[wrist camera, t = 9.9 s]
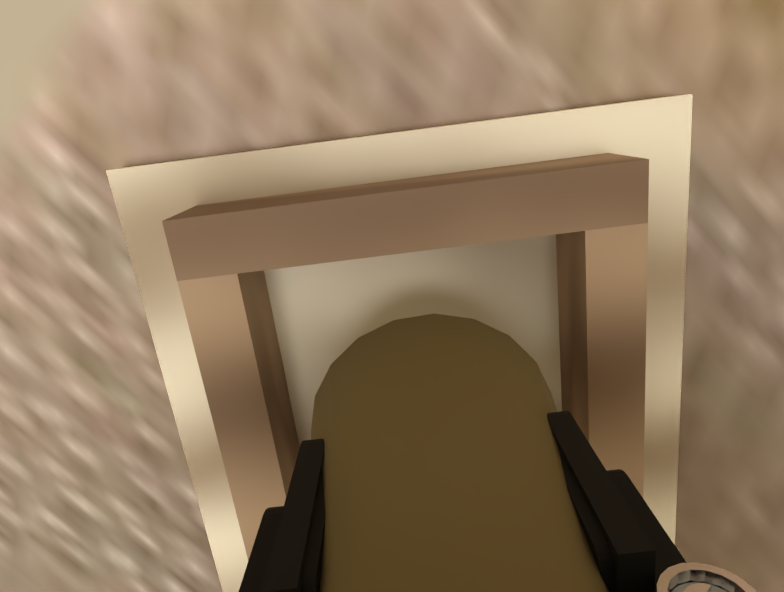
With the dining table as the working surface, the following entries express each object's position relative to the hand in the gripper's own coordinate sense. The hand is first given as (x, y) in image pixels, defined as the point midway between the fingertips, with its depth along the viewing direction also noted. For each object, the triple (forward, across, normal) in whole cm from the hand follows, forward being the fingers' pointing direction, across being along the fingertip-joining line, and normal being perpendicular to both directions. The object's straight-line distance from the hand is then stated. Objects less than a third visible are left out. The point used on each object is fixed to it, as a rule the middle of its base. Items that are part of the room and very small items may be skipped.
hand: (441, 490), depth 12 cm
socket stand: (+7, 0, +3) cm, 7 cm away
